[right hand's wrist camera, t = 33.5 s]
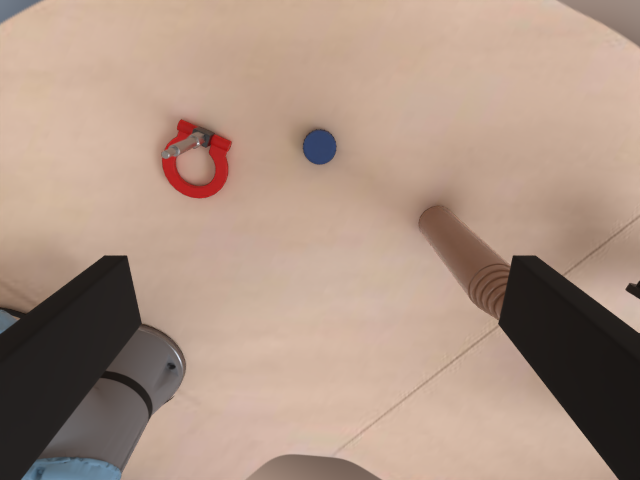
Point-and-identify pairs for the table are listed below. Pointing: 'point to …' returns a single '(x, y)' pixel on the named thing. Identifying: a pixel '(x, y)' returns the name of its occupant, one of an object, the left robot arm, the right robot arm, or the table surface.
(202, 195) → the tow hook
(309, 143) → the cap
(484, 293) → the bottle
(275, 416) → the table surface
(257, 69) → the table surface
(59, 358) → the right robot arm
